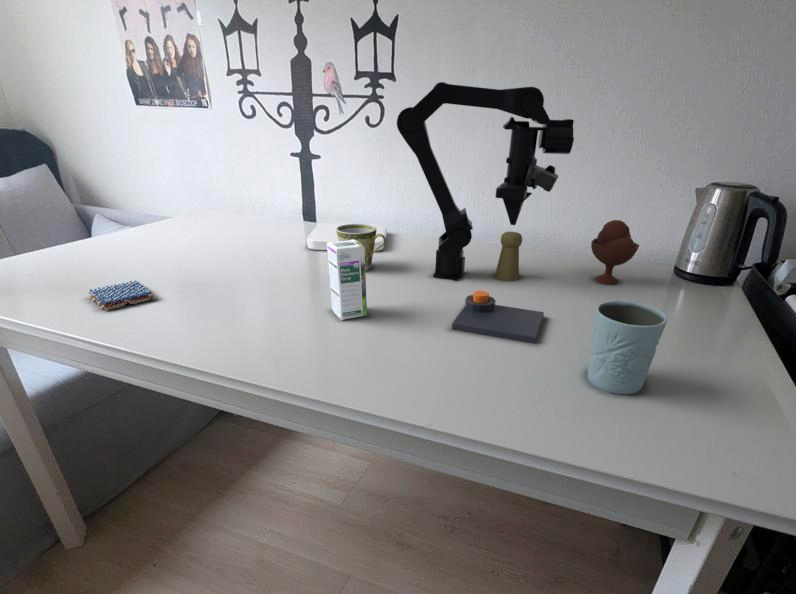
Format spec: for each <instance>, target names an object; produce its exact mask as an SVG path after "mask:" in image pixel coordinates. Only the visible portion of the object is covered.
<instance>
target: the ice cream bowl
mask: <svg viewBox="0 0 796 594" xmlns="http://www.w3.org/2000/svg"><path fill="white" fill-rule="evenodd" d="M590 242H591V246H590V249H591V252H592V254H593V256H594V257H595V259H597V260H598V261H599V262H600V263H601V264H603V265H605V270H604V273H602V274H599V275H597V276H596V277H595V279H594V281H596V282H597V283H599V284H602V285H609V286H612V285H617V284H618V283H619V280H618V279H617V277H616V276H614V275H613V270H614V268H615V267H616V266H621V265H624V264H626V263H627V262H629V261H630V260H631V259H633V257H634V256H635V255H636V253H637V252H638V249H639V247H640V244H638V243H636V242H635V241H634V239H633V238H632V235H631V232H630V227H629V225H627V224H626V222H625V221H623V220H621V219H613V220H610V221H608V222H606V223H605V224H603V227H602V229H601V230H600V231H599V232H598V234H597V237H596V238H595V237H594V238H593V240H591V241H590Z"/></svg>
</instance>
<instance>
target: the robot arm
mask: <svg viewBox="0 0 796 594" xmlns="http://www.w3.org/2000/svg"><path fill="white" fill-rule="evenodd" d="M443 105H457V106H463V107H464V106H466V107H474V108H482V109H483V108H484V109H492V110H493V109H494V110H498V111H502V112H505V113H508V114H511V115H515V116H518V117H520V118H522V119H523V118H524V119H527V120H516V119H515V117H513V116H510V117H509V119H508V120H507V121H506V123H504V124H503V125H502V128H503V129H504V130H505V131H506V130H507V131H508V130H509V131H511V132H510V139H509V140H510V142H509V149H508V157H506V159H505V164H507V167H506V176H505V177H504V179H503V182H502V183H501V184H499V185H498V186H497V187H496V190H495V199H502V201H503V204H504V207H505V210H506V214H507V216H508V220H509V224H510V225H511V226H516V224H517V222H518V219H519V216H520V213H521V211H522V208H523V205H524V203H525V201H527V199H528V198H529V197H531V195H532V194H533V192H528V188H532V190H536V189H537V188H538V187H540V188H541V189H543V191H545V192H549V193H550V192H551V191H552V190H553V188H554V186H555V184H556V182H557V180H558V178H559V174H557V173H556V166H553V165H551V164H549V165H548V166H546V167H545V168H544V167H543V166H542V167H541V166H539V165H537V163H538V159H537V157H536V150H537V148H538V149H541V150H542V154H550V155H551V154H552V155H569V154H570V153H571V151H572V149H573V145H574V141H575V136H574V122H575V120H574V119H572V118H564V119H550V117H549V115H548V113H547V111H546V109H545V107H544V105H545V97H544V93H542V91H541V90H540V88H538V87H535V86H524V87H523V86H522V87H512V88H502V89H497V88H488V87H479V86H470V85H459V84H452V83H451V84H450V83H447V82H445V81H444V82H443V81H439V82H437V83H435V85H434V86H433V88H432V89H431V90H430V91H429V92H428V93H427V94H426V95H424V96H423V98H421V100H419V101H418V102H417V103H416V104H415V105H414V106H408V107H406V108H404V109H402V110H401V111H400V112H399V113H398V115H397V119H396V128H397V131H398V132H399V134H400V135H401V136H402V138H403V140H404V141H405V143H406V144H407V146H408V147H409V148H410V149H411V151H412V153H413V154H414V155H415V156H416V159H417V161H418V163H419V166H420V168H421V170H422V172H423V175H424V176H425V180H426V181H427V184H428V185H429V187H430V190H431V193H432V195H433V197H434V199H435V202H436V204H437V206H438V208H439V210H440V213H441V217H442V222H443V226H444V230H445V232H443V233H442V234H441V235H440V236H439V237H438V245H437V246H438V249H436V250H435V268H434V270H435V271H434V272H433V274H432V277H434V278H440V279H441V278H442V279H447V280H455V281H457V280H459V279H460V278H461V277H462V276H463V275H464V274H465V267H466V257H465V256H464V251H465V250H464V248H465V247H467V246H468V245H469V244H470V243H471V240H472V237H473V235H472V231H473V229H474V226H473V223H472V221H471V219H469V217H468V213H467V208H466V207H463V208H462V209H461V210H460V208H459V207H458V206H457V205H458V204H456V202H455V200H454V198H453V195H452V192H451V191H450V188H449V186H448V183H447V181H446V178H445V176H444V174H443V172H442V169H441V166H440V165H439V162H438V160H437V157H436V155H435V153H434V150H433V148H432V145H431V141H430V136H429V132H428V128H427V124H426V121H427V120H428V119H429V118H430V117H432V115H434V113H436V112H437V111H438V110H439V109H440V108H441V107H442V106H443ZM528 119H529V120H531V121H532V122H534V123H536V124H538V125H542V126H530V121H528ZM538 134H539V135H538ZM537 142H538V143H537Z"/></svg>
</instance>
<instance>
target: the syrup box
mask: <svg viewBox="0 0 796 594" xmlns="http://www.w3.org/2000/svg"><path fill="white" fill-rule="evenodd" d="M326 251H327V262H328V263H327V264H328V272H329V285H330V286H329V287H330V299H331V310H332V312H333V314H335V315H336V316H337V317H338V318H339V319H340V320H341V321H344V320H348V319H354V318H360V317H361V318H362V317H367V316H368V306H367V305H368V304H367V302H368V301H367V277H366V271H365V249H364V246H363V245H362V244H361V243H360V242H358V241H356V240H354V239H353V240H348V241H339V242H328V243H327V250H326Z"/></svg>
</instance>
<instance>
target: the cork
mask: <svg viewBox="0 0 796 594" xmlns="http://www.w3.org/2000/svg"><path fill="white" fill-rule="evenodd" d="M500 244H501V249H500V253H499V258H498V262H497V265H496V270H495V274H494V277H495V278H496V279H499V280H502V281H516V280H517V281H518V279H520V247H521V246H522V244H523V236H522V234H521V233H520V232H517V231H505V232H503V233H502V234H501V236H500Z"/></svg>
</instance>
